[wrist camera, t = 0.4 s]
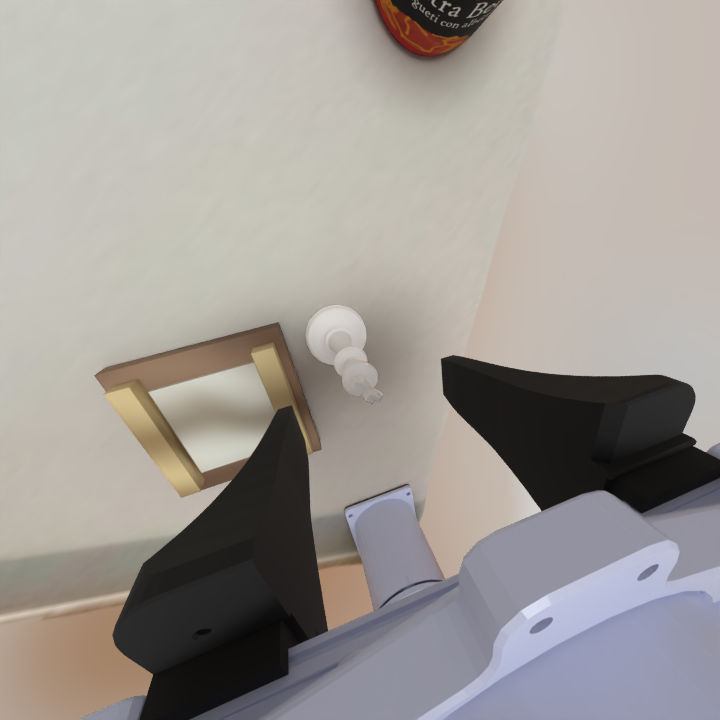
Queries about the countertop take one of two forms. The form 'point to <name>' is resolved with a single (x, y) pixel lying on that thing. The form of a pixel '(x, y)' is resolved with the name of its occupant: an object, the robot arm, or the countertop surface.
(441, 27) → the canned food
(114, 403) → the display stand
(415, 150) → the countertop surface
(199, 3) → the countertop surface
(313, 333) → the chess piece
